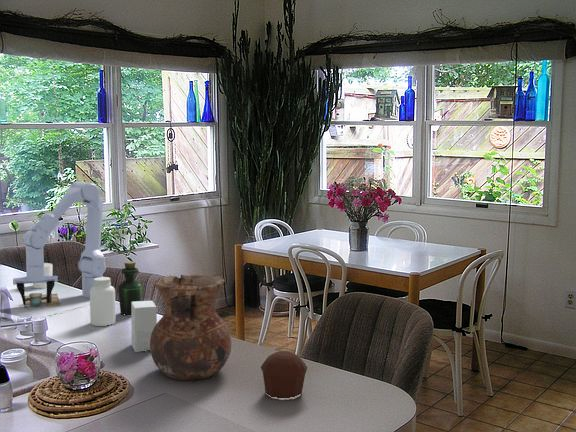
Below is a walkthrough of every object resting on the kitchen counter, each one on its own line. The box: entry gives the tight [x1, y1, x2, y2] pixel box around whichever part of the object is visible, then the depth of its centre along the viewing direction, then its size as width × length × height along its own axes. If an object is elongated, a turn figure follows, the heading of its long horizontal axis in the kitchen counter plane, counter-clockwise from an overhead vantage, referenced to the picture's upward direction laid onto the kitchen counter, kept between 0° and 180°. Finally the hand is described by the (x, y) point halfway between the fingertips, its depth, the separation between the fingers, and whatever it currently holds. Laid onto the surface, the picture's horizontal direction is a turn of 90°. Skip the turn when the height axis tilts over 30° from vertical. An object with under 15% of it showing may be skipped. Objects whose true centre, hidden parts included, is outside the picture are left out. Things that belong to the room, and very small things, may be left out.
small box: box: [130, 300, 158, 353], centre depth 195 cm, size 8×6×13 cm
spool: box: [28, 292, 43, 308], centre depth 236 cm, size 4×4×6 cm
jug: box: [149, 274, 233, 381], centre depth 175 cm, size 22×21×25 cm
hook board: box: [23, 293, 62, 309], centre depth 242 cm, size 19×12×5 cm, turn 23°
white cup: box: [32, 262, 53, 289], centre depth 265 cm, size 8×8×10 cm
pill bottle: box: [89, 276, 117, 327], centre depth 219 cm, size 8×8×15 cm
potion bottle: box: [117, 260, 143, 315], centre depth 232 cm, size 8×8×18 cm
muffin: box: [260, 350, 308, 398], centre depth 163 cm, size 12×11×10 cm
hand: (36, 303), depth 235 cm, fingers open, 7 cm apart
